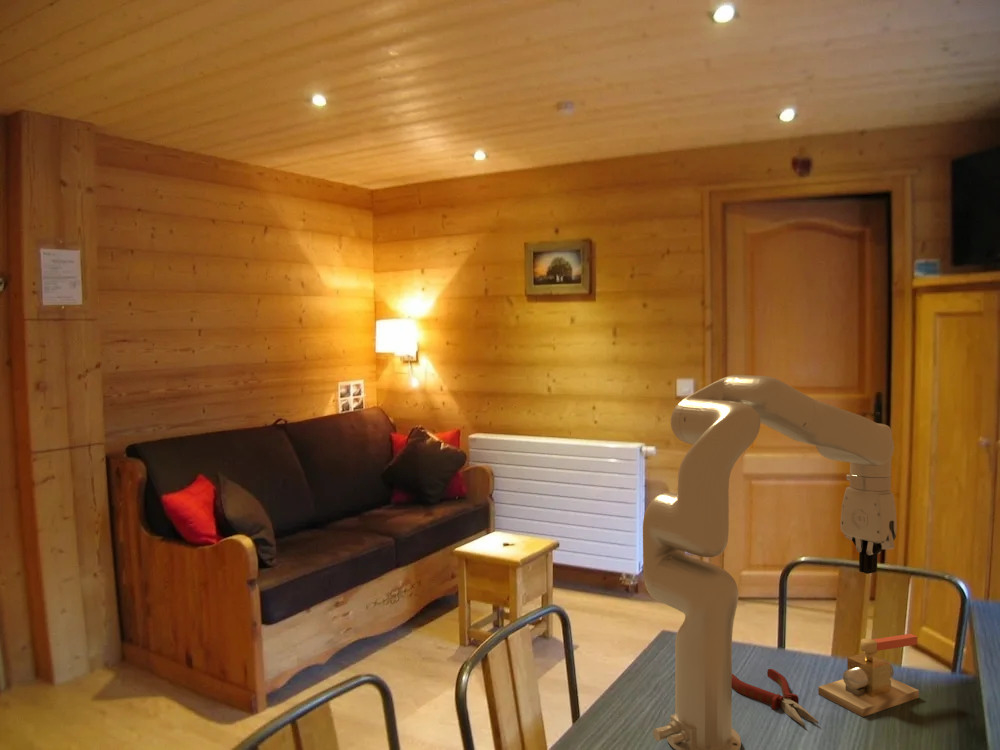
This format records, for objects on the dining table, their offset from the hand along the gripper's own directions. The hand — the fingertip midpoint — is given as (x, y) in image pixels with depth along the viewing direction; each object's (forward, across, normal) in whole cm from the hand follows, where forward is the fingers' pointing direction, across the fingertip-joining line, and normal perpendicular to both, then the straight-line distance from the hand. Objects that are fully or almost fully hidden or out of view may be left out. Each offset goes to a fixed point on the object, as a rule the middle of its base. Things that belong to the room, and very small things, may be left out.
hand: (867, 571), depth 152 cm
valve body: (+21, +5, -6) cm, 22 cm away
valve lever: (+13, +6, -2) cm, 15 cm away
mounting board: (+22, +6, -6) cm, 24 cm away
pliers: (+23, -2, -25) cm, 34 cm away
